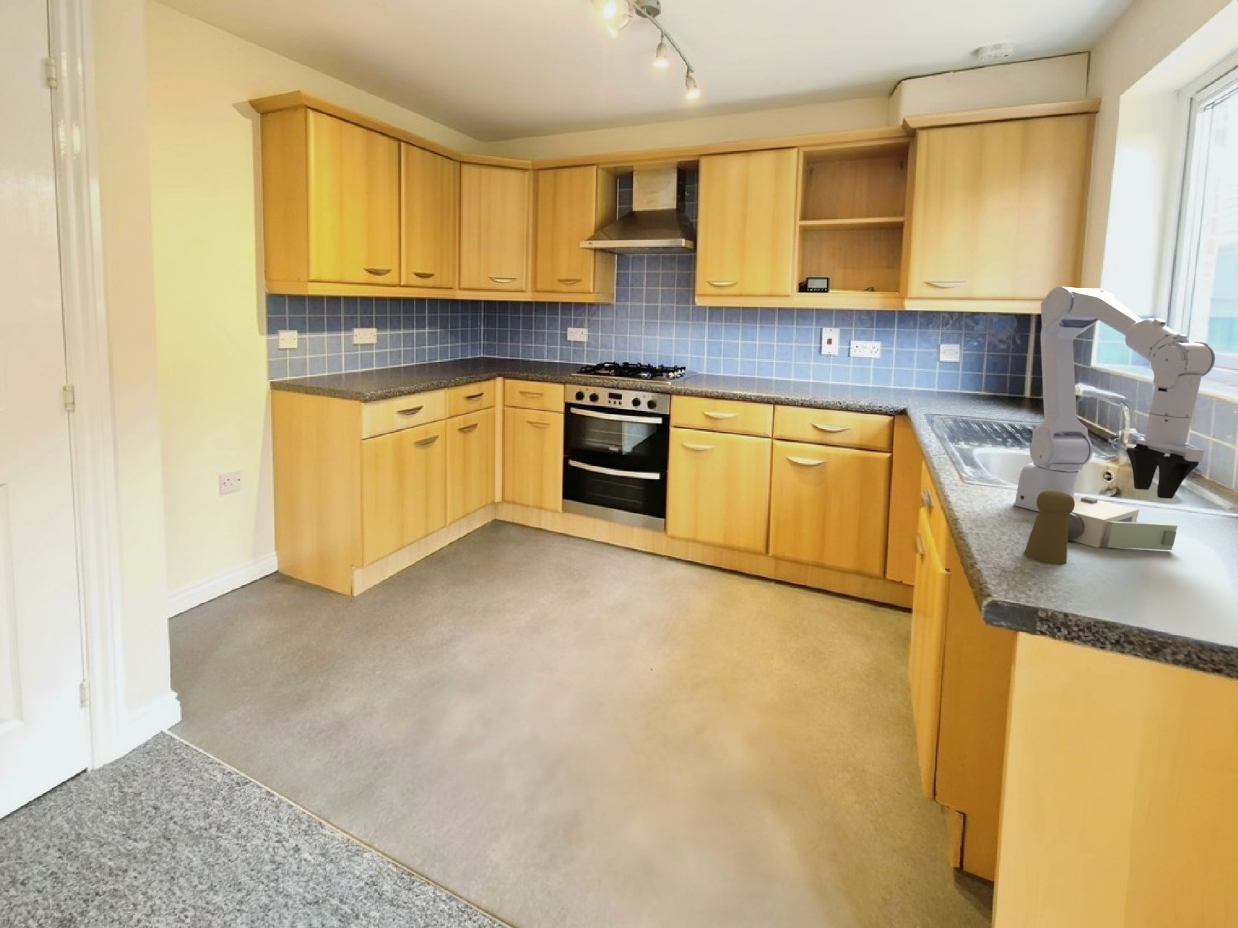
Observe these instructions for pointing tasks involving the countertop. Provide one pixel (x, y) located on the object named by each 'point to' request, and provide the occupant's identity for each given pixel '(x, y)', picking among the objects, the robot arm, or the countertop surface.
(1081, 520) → the camera box
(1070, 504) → the cork
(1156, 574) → the countertop surface
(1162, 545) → the side door
